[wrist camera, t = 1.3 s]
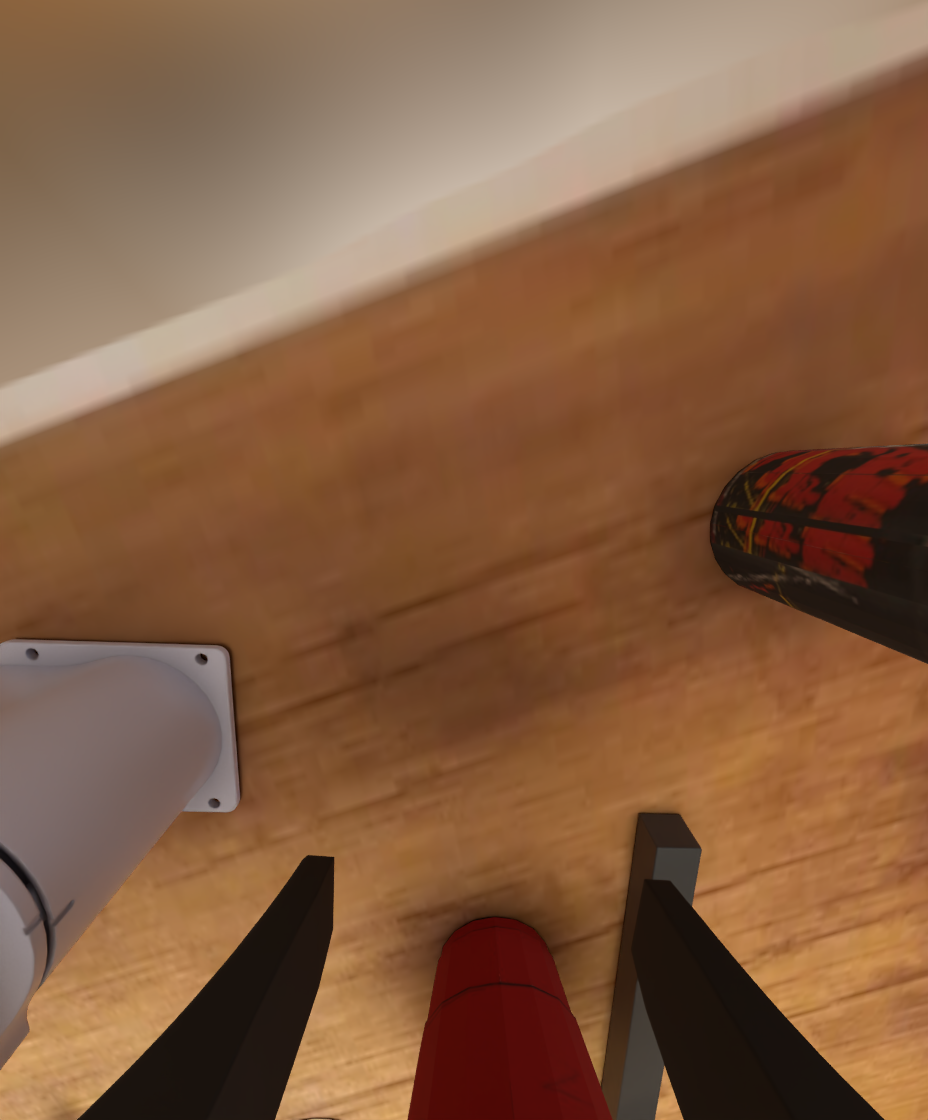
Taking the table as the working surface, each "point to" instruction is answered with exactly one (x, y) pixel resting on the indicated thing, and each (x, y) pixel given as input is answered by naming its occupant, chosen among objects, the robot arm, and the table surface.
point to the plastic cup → (502, 1034)
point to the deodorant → (834, 538)
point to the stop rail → (631, 1040)
